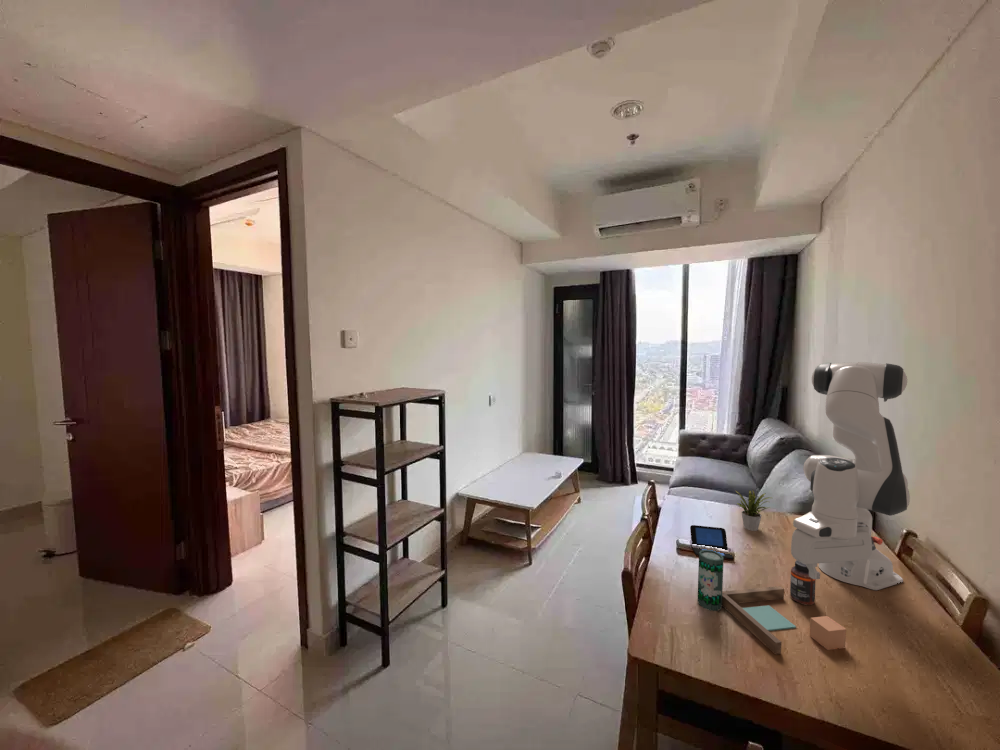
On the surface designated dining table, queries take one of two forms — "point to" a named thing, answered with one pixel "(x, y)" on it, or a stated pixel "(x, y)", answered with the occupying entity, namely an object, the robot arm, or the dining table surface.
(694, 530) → the handheld game console
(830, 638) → the cube
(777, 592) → the wooden l-shaped wall
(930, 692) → the dining table surface
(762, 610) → the pad
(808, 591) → the supplement bottle
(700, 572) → the can
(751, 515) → the house plant
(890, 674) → the dining table surface
